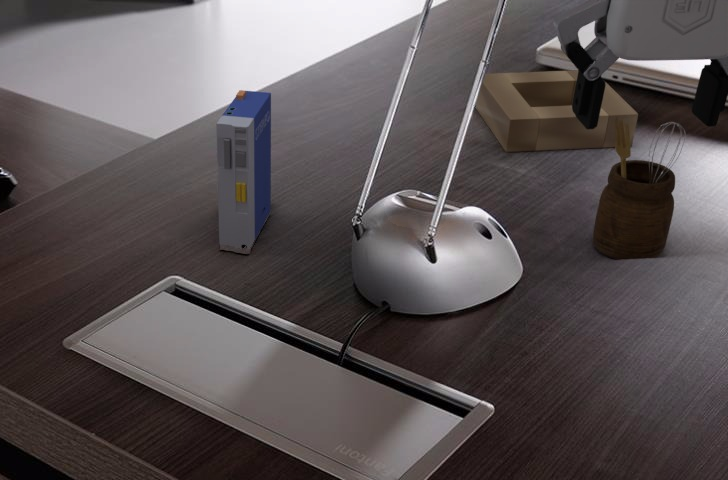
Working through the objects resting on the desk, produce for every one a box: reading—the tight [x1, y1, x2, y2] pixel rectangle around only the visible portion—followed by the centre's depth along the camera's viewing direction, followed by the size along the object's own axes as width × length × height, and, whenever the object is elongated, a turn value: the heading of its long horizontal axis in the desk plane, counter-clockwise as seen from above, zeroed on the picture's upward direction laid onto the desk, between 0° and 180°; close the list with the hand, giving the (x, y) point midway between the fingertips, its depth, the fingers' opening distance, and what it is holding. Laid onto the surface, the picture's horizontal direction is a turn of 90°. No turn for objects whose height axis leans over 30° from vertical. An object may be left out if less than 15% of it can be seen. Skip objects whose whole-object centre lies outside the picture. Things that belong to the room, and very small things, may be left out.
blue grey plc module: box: [215, 89, 272, 250], centre depth 93 cm, size 8×3×12 cm, turn 164°
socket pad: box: [474, 69, 639, 153], centre depth 114 cm, size 13×13×4 cm
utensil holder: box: [592, 118, 687, 261], centre depth 89 cm, size 6×6×12 cm
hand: (644, 121), depth 86 cm, fingers open, 9 cm apart
